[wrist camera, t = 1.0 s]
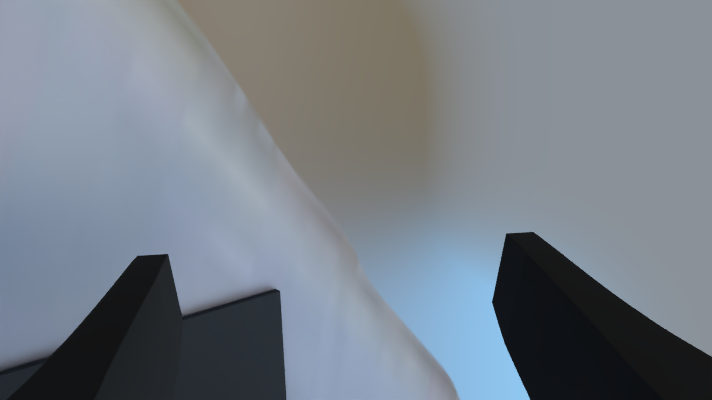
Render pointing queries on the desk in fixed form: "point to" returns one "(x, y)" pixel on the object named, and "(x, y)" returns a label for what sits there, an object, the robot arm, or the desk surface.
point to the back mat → (216, 354)
